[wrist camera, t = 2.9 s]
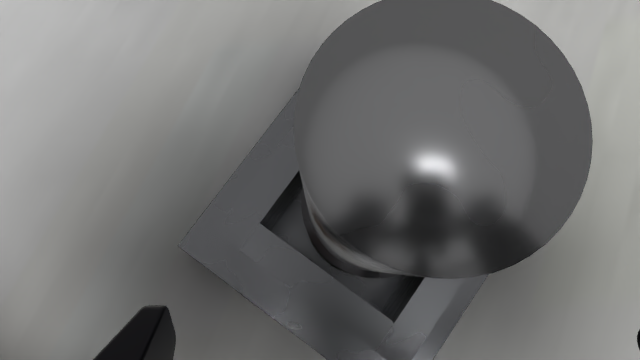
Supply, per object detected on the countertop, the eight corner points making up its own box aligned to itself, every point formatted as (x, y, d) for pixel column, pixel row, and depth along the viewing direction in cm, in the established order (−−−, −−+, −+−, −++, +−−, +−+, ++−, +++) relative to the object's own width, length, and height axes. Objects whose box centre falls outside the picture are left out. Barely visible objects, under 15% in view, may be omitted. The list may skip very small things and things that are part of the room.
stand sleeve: (528, 193, 20) (606, 166, 15) (391, 401, 19) (420, 457, 13) (332, 59, 21) (336, -13, 16) (188, 247, 20) (138, 240, 14)
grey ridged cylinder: (445, 202, 18) (666, 91, 7) (378, 299, 18) (493, 368, 6) (350, 136, 19) (399, -78, 7) (281, 228, 18) (211, 162, 6)
